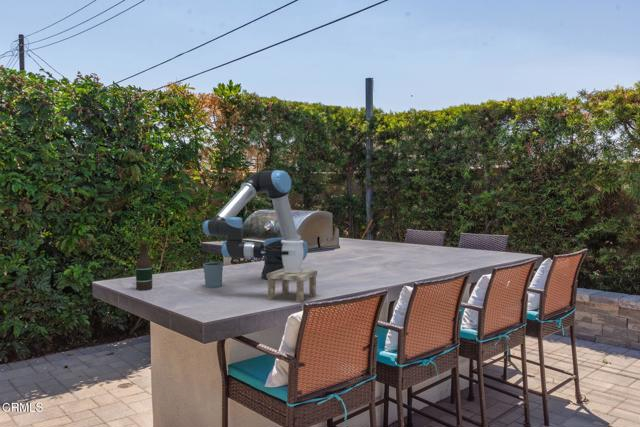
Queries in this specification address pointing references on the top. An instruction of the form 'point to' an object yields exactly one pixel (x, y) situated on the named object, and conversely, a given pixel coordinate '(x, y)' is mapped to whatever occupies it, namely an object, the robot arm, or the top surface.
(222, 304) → the top surface
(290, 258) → the jar
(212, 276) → the teal plant pot
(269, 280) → the stool
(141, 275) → the beer bottle
